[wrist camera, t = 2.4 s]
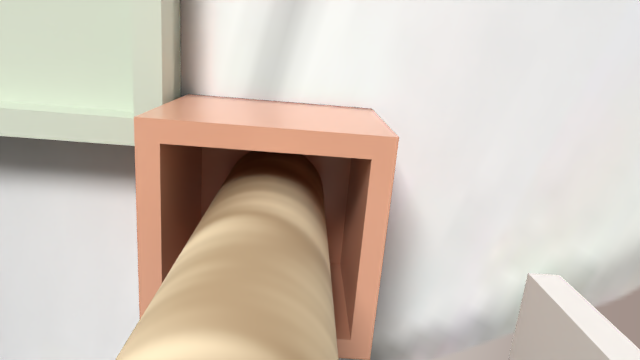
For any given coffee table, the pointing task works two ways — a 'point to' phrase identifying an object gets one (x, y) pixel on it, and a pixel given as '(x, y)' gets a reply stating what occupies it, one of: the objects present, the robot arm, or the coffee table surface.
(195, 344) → the dowel
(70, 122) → the tray
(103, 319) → the coffee table surface
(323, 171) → the bin
